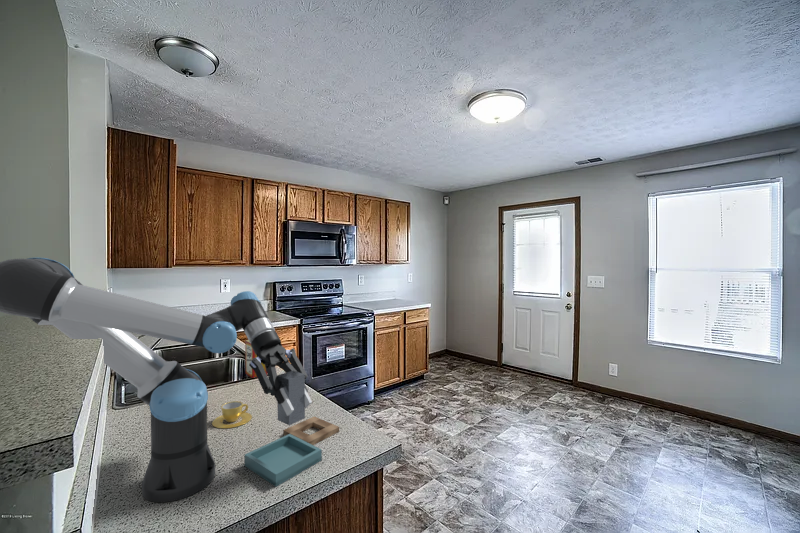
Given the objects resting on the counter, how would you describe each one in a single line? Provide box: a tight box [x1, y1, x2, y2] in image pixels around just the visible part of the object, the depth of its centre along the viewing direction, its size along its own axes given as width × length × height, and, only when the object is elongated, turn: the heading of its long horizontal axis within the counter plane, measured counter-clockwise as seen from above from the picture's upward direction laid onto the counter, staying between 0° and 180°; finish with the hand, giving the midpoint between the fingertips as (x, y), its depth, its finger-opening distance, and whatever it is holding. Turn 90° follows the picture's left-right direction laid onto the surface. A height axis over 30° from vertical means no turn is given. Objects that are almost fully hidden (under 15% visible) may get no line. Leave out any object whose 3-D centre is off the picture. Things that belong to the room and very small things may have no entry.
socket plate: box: [282, 416, 340, 446], centre depth 111 cm, size 12×12×2 cm
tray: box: [243, 434, 323, 488], centre depth 95 cm, size 14×14×3 cm
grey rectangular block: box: [276, 371, 306, 426], centre depth 95 cm, size 5×5×12 cm
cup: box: [211, 400, 253, 429], centre depth 119 cm, size 12×12×5 cm
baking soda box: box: [244, 339, 268, 379], centre depth 165 cm, size 10×6×16 cm
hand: (299, 408), depth 93 cm, fingers closed on grey rectangular block, 5 cm apart
